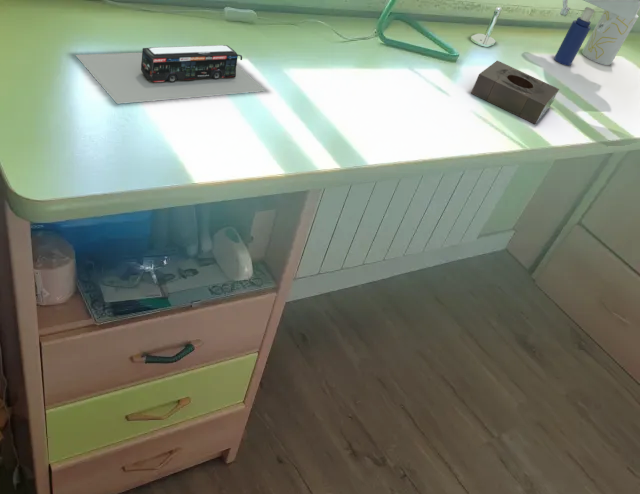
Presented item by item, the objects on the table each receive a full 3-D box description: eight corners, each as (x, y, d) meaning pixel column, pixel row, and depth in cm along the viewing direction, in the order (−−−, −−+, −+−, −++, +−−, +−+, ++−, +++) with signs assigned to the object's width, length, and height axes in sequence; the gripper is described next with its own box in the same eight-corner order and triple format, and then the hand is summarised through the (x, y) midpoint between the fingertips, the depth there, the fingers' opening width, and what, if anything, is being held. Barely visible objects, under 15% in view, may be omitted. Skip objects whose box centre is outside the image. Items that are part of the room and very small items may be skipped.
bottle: (572, 63, 151) (600, 11, 142) (568, 67, 148) (597, 14, 139) (556, 55, 152) (583, 3, 143) (552, 59, 149) (579, 6, 140)
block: (549, 107, 125) (559, 89, 122) (535, 124, 117) (545, 105, 114) (488, 78, 128) (497, 60, 125) (470, 93, 120) (479, 73, 117)
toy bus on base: (265, 91, 98) (270, 65, 95) (117, 103, 84) (117, 74, 81) (220, 49, 105) (223, 24, 102) (75, 55, 91) (74, 26, 88)
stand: (467, 39, 143) (480, 34, 149) (485, 48, 142) (497, 42, 147) (481, 5, 138) (493, 1, 144) (500, 14, 137) (512, 10, 142)
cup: (577, 52, 159) (602, 4, 150) (588, 49, 164) (614, 2, 156) (604, 66, 156) (632, 18, 148) (615, 62, 161) (642, 16, 153)
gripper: (569, -58, 134) (538, 7, 144) (656, -21, 130) (618, 43, 139) (574, -60, 139) (544, 3, 148) (659, -25, 134) (622, 38, 144)
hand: (581, 23), depth 144 cm, fingers open, 8 cm apart
